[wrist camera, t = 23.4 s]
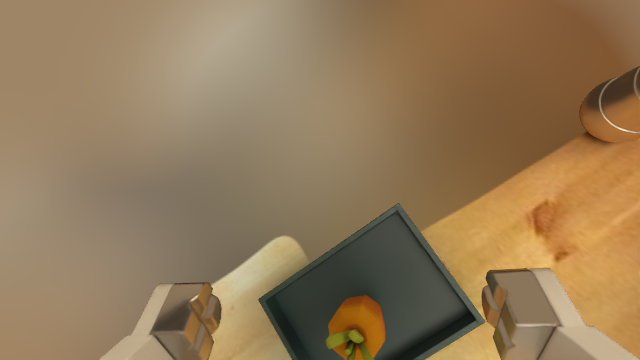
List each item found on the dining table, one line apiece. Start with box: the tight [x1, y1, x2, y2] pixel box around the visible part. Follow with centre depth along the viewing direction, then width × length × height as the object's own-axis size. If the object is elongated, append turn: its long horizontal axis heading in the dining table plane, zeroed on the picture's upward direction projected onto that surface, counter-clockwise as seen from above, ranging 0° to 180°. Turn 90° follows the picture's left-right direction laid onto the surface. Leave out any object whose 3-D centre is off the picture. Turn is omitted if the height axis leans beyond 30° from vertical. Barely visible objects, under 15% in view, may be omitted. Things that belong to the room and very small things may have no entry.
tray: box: [258, 203, 485, 360], centre depth 37 cm, size 19×14×4 cm
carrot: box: [326, 295, 385, 360], centre depth 31 cm, size 5×5×15 cm
